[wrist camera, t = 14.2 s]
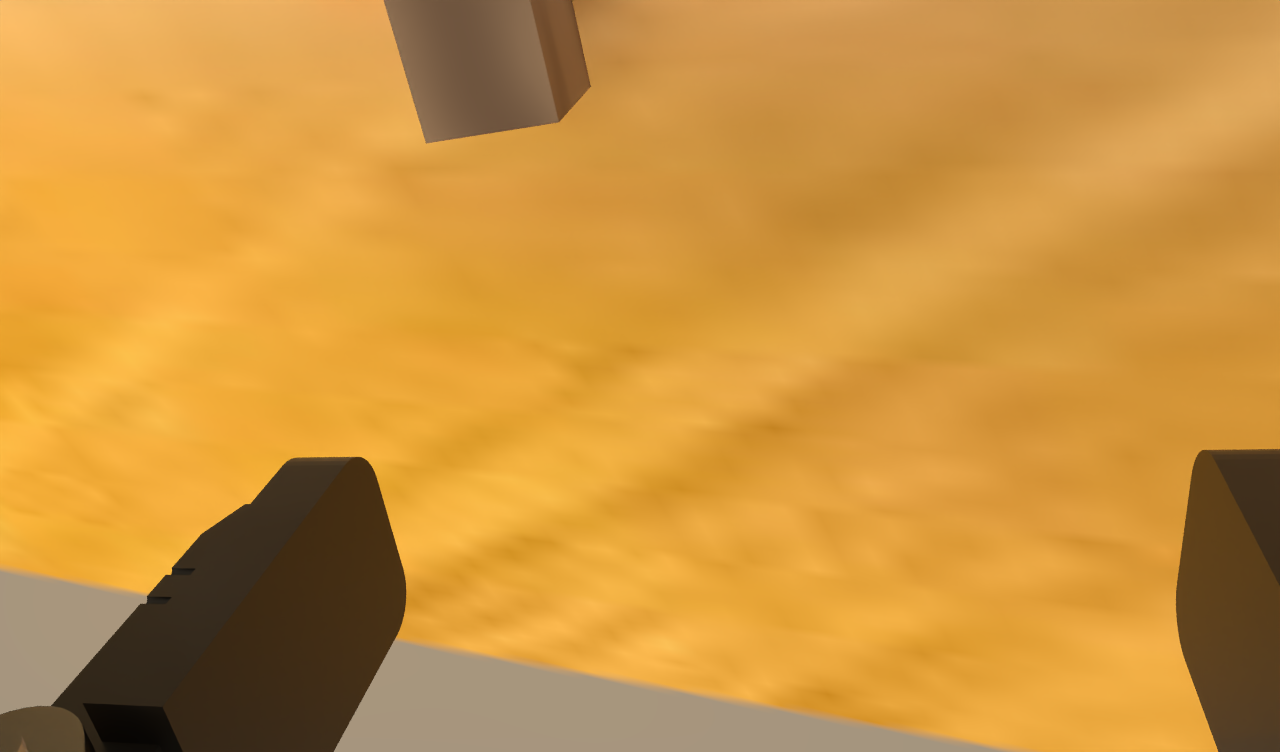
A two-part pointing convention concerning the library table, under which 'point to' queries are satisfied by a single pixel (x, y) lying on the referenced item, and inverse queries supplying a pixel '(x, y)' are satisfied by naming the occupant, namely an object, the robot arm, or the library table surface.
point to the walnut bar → (489, 63)
